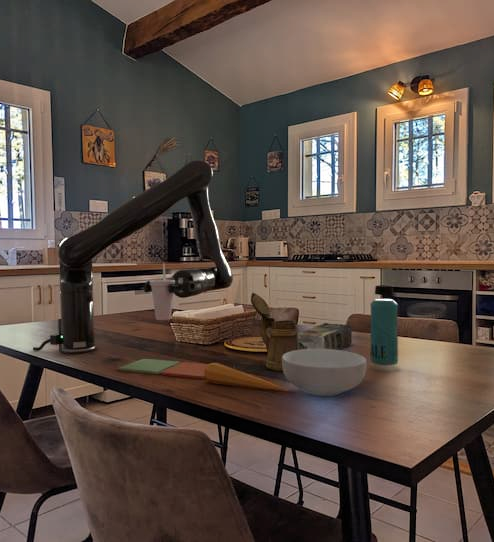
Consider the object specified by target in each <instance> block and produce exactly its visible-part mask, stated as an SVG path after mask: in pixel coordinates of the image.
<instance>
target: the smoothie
mask: <svg viewBox="0 0 494 542" xmlns="http://www.w3.org/2000/svg"><path fill="white" fill-rule="evenodd" d="M162 279H163V280H159V279H158V280H156V279H153V281H152V280H149V281H150V285H151V289H152V292H151V294H152V302H153V309H154V314H155V320H156V321H169V320H171V319H172V311H173V310H172V309H173V300H174V299H173V298H174V293H169V287H168V286H169V284H172V283H175V280H166V279H167V277H166V263H162Z"/></svg>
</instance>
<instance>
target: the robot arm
mask: <svg viewBox="0 0 494 542" xmlns="http://www.w3.org/2000/svg"><path fill="white" fill-rule="evenodd" d="M213 174H214V172H213V168H212V166H211V165H210V163H208V162H207V161H205V160H203V159H193V160H190V161H188V162H187V163H186V164H184V165H183V166H182V167H180V168H179V170H176V172H174V173H173V174H171V175H170V176H169V177H168V178H166V179H164V180H163V181H161V182H158V183H157V184H155V185H152V186H151V187H149V188H147V189H145V190H143V191H142V192H140V193H138V194H136V195H134V196H133V197H131V198H130V199H128V200H126V201H124V202H123V203H121V204H120V205H118V206H117V207H115V208H114V209H113V210H112V211H110V212H109V213H108V214H106V215H105V216H104V217H103V218H102V219H100V220H99V221H98V222H96V223H94V224H93V225H91V226H90V227H88V228H86V229H84V230H81V231H79V232H78V233H75V234H72V235H70V236H68V237H65V238H64V239H63V240H62V241H61V242H60V244H59V245H58V249H57V256H58V261H59V307H60V309H59V310H60V317H58V319H57V326H58V327H57V331H58V333H54V334H53V333H52V334H50V335H49V338H48V339H46V340H44V341H43V342H42V343H41V344H40V345H39V346H38V347H35V346H33V347H32V351H35V352H38V351H39V352H40V351H41V350H43V349H44V347H45V346H46V345H47V344H50V345H53V346H57V345H58V351H59V352H62V353H64V354H83V353H89V352H93V351H95V350H96V344H95V343H96V341H95V309H94V307H95V306H94V276H93V274H94V273H93V259H94V258H95V257H97V256H98V255H100V253H102V252H103V251H105V250H106V249H107V248H109V247H111V246H112V245H114V244H116V243H118V242H120V241H122V240H124V239H126V238H128V237H131V236H133V235H134V234H136V233H138V232H140V231H142V230H143V229H145V228H146V227H148V226H149V225H151V224H152V223H154V222H155V221H157V220H158V219H159V218H161V217H162V216H163V215H164V214H165V213H167V212H168V211H169V210H170V209H171V208H172V207H173V206H175V205H176V204H177V203H179V202H180V201H182V200H183V199H185V198H186V201H187V204H188V207H189V211H190V214H191V219H192V225H193V229H194V230H193V231H194V235H195V240H196V246H197V250H198V251H197V252H198V255H199V258H200V260H202V261H211V262H212V263H213V264H214V266H213V267H207V268H187V269H179V270H177V271H175V272H174V273H173V274H172V276H171V277H166V280H175V283H172V284H169V286H168V287H169V293H173V295H175V296H176V297H178V298H180V299H185V298H190V297H194V296H195V297H196V296H199V295H200V294H205V293H208V292H212V291H217V290H223V289H224V290H225V289H227V288H231V285H232V284H233V281H234V276H233V272H232V269H231V268H230V266H229V264H228V262H227V260H226V257H225V255H224V252H223V250H222V246H221V239H220V235H219V231H218V228H217V224H216V221H215V219H214V217H213V214H212V210H211V207H210V201H209V186H210V184H211V183H212V181H213V176H214V175H213ZM153 280H154V279H153ZM153 280H147V281H146V283H144V284H143V291H144V293H152V289H151V285H150V281H153ZM155 280H163V278H159V279H155Z"/></svg>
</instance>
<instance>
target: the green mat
mask: <svg viewBox="0 0 494 542" xmlns="http://www.w3.org/2000/svg"><path fill="white" fill-rule="evenodd" d="M180 363H181V361H176V360H166V359H155V358H154V359H153V358H141V359H139V360H136V361H133V362H131V363H128V364H125V365H122V366H120V367H118V368H117V369H118V371H121V372H129V373H130V372H132V373H141V374H151V375H158V374H161V372H162V371H165V370H167V369H169V368H171V367H174V366H176V365H178V364H180Z"/></svg>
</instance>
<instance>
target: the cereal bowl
mask: <svg viewBox="0 0 494 542" xmlns="http://www.w3.org/2000/svg"><path fill="white" fill-rule="evenodd" d="M282 368H283V371H282V372H283V375H284V377H285V378H286V380H287V381H288V382H289V383H291V384H292V385H293V386H295V387H296V388H299V389H302V390H303V391H304V393H307V394H309V395H312V396H317V397H319V396H320V397H334V396H338V395H341V394H343V393H344V392H346V391H349V390H352V389H354V388H356V387H357V386H359V385H360V384H361V382H362V381H363V380H364V378H365V375H366V370H367V358H366V357H365V356H363V355H361V354H358V353H356V352H352V351H346V350H341V349H339V350H333V349H301V350H295V351H290V352H287V353H285V354H284V355H283V356H282Z"/></svg>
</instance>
